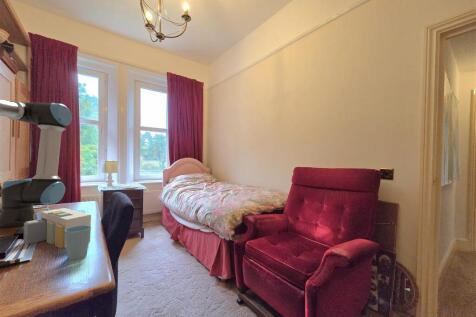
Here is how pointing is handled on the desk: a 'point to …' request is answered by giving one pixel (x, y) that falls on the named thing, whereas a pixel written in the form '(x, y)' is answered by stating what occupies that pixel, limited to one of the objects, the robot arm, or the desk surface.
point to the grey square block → (35, 231)
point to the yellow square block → (60, 236)
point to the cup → (77, 241)
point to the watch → (38, 211)
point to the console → (66, 219)
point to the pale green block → (51, 232)
